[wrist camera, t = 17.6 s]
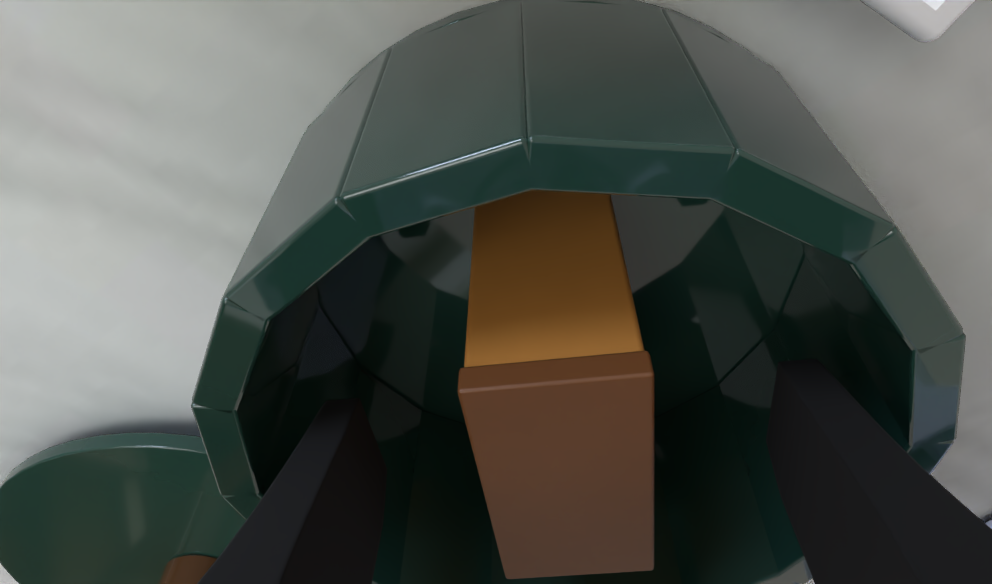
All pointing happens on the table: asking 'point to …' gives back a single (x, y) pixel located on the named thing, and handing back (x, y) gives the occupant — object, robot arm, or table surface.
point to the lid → (115, 512)
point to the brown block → (558, 388)
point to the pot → (649, 261)
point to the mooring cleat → (920, 15)
